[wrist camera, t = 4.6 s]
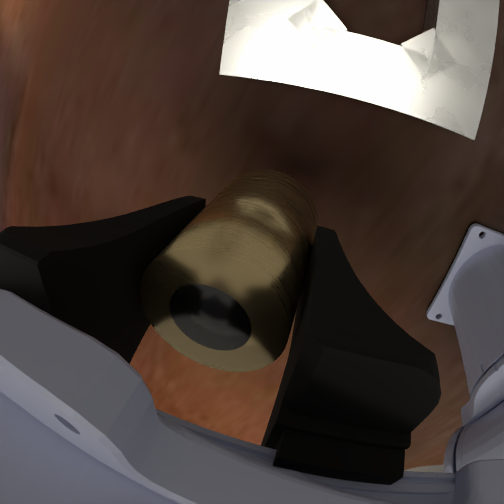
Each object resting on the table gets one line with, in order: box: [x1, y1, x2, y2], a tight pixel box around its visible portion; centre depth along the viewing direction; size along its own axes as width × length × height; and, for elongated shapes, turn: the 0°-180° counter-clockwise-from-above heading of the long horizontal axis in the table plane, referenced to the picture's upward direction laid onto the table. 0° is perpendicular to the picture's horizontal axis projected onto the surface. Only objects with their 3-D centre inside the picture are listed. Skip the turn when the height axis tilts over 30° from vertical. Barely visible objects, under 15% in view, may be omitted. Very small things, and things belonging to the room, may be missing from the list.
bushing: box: [140, 169, 317, 372], centre depth 10 cm, size 4×4×6 cm
